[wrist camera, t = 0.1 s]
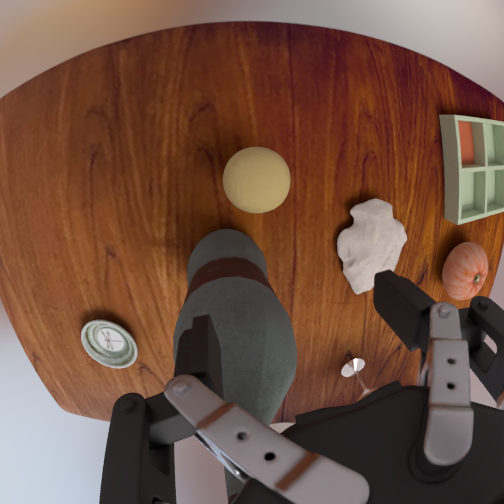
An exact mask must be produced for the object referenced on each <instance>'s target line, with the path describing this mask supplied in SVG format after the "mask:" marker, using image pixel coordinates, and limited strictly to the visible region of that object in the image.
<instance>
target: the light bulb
mask: <svg viewBox="0 0 504 504" xmlns="http://www.w3.org/2000/svg"><path fill="white" fill-rule="evenodd" d="M223 186H224V190H225V193H226V195H227V197H228V199H229V200H230V201H231V202H232V203H233V204H234V205H235V206H236V207H237V208H239V209H241V210H243V211H246V212H250V213H263V212H267V211H270V210H273V209H275V208H276V207H278V206H279V205H280V204H281V203H282V202H283V201H284V199H285V198H286V196H287V194H288V191H289V188H290V172H289V169H288V166H287V164H286V162H285V161H284V159H283V158H282V157H281V156H280V155H279V154H277V153H276V152H274V151H272V150H270V149H268V148H264V147H249V148H246V149H243V150H241V151H239V152H237V153H236V154H235V155H233V156H232V157H231V159H230V160H229V161H228V163H227V165H226V167H225V169H224V174H223Z"/></svg>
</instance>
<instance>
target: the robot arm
mask: <svg viewBox="0 0 504 504" xmlns="http://www.w3.org/2000/svg"><path fill="white" fill-rule="evenodd" d="M373 301H374V306H375V309H376V311H377V312H378V313H379V315H380V316H381V317H382V318H383V319H384V320H385V322H386V323H387V324H388V325H389V326H390V327H391V329H392V330H393V331H394V332H395V333H396V335H397V336H398V337H399V338H400V339H401V341H402V342H403V343H404V344H405V346H406V347H407V348H408V349H409V350H410V352H411V351H414V350H416V349H418V348H420V349H421V352H420V357H419V367H418V376H417V383H416V385H409V386H402V385H401V384H400V382H399V381H398V380H397V381H395V382H392V383H390V384H388V385H385V386H383V387H380V388H378V389H376V390H374V391H373V392H371V393H370V394H368V395H367V396H365V397H364V398H362V399H361V400H359V401H358V402H356V403H354V404H352V405H347V406H338V407H329V408H321V409H318V410H315V411H311V412H308V413H304V414H300V415H296V416H295V418H296V424H294V425H292V426H290V427H289V428H287V429H285V430H284V431H283V432H282V433H278V432H276V431H275V430H273V429H272V428H270V427H269V426H267V425H266V424H264V423H263V422H261V421H260V420H259V419H257V418H256V417H254V416H253V415H251V414H250V413H249V412H247V411H246V410H244V409H243V408H242V407H240V406H239V405H238V404H236V403H234V402H230V403H229V404H228V403H226V402H225V401H224V395H223V379H222V361H221V348H220V343H219V340H218V337H217V334H216V331H215V328H214V325H213V322H212V319H211V317H210V315H209V314H207V315H202V316H197V317H193V323H192V329H187V330H184V331H183V333H182V334H181V336H180V337H179V342H178V349H177V356H176V364H175V371H174V378H172V379H171V380H169V381H168V383H167V384H166V386H165V388H164V391H163V392H162V393H160V394H157V395H154V396H152V397H149V398H146V399H144V397H143V396H142V395H140V394H138V393H127V394H125V395H123V396H121V397H120V398H119V399H118V400H117V401H116V402H115V404H114V407H113V412H112V417H111V422H110V427H109V433H108V439H107V445H106V451H105V458H104V466H103V473H102V481H101V491H100V502H99V503H100V504H176V489H175V467H174V466H175V465H174V442H177V441H179V440H182V439H185V438H187V437H190V436H194V437H195V438H196V439H197V440H198V441H199V442H200V443H201V444H202V445H203V446H204V447H205V448H206V449H207V450H208V451H210V452H211V453H212V454H213V455H214V456H215V457H216V458H217V459H218V460H219V461H220V462H221V463H222V464H223V465H224V466H225V467H226V468H227V469H228V470H229V471H230V472H231V473H233V474H234V475H235V476H236V477H237V478H238V479H240V480H241V481H242V482H243V483H245V484H244V486H243V487H242V489H241V490H240V492H239V493H238V494H237V496H236V497H235V499H234V500H233V501H232V503H231V504H504V310H503V309H502V308H500V307H499V306H498V305H497V304H496V303H495V302H493V301H492V300H491V299H489V298H487V297H484V296H476V297H474V298H472V300H471V302H470V306H469V307H468V308H463V309H457V308H456V307H455V306H454V305H452V304H450V303H447V302H438V303H436V302H435V301H434V300H433V299H432V298H431V297H429V296H428V295H427V294H426V293H425V292H424V291H422V290H420V288H419V287H418V286H416V285H415V284H414V283H413V282H412V281H410V280H409V279H407V278H404V277H402V276H398V275H396V274H395V273H394V272H393V271H392V270H390V269H388V270H385V271H382V272H378V273H376V274H375V276H374V299H373ZM486 335H488V336H489V337H490V338H491V339H492V340H493V341H494V342H495V343H496V346H497V353H496V354H495V353H494V352H493V351H492V350H491V349H490V347H489V346H488V345H487V344H486V343H485V342H484V340H485V337H486ZM470 368H471V369H472V371H473V372H474V373H475V375H476V376H477V377H478V378H479V380H480V381H481V382H482V384H483V385H484V386H485V388H486V389H487V390H488V392H489V393H490V394H491V396H492V397H493V398H494V400H495V401H496V403H497V408H493V407H489V406H486V405H482V404H479V403H475V402H471V401H470Z"/></svg>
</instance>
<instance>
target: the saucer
mask: <svg viewBox="0 0 504 504" xmlns="http://www.w3.org/2000/svg"><path fill="white" fill-rule="evenodd" d="M81 340H82V344H83V346H84V348H85V350H86V351H87V353H88V354H89V355H90V356H91V357H92V358H93V359H95V360H96V361H97V362H99V363H101V364H103V365H105V366H108V367H112V368H125V367H128V366H130V365H132V364H133V363H134V362H135V360H136V358H137V355H138V348H137V345H136V342H135V340H134V339H133V337H132V336H131V335H130V334H129V332H127V331H126V330H125V329H124V328H122V327H121V326H119V325H118V324H116V323H113V322H111V321H107V320H93V321H90V322H88V323H87V324H86V325H85V326H84V327H83V329H82V331H81Z"/></svg>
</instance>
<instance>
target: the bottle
mask: <svg viewBox="0 0 504 504" xmlns="http://www.w3.org/2000/svg"><path fill="white" fill-rule="evenodd" d="M187 278H188V288H189V289H188V292H187V295H186V298H185V301H184V305H183V307H182V310H181V312H180V315H179V317H178V320H177V323H176V327H175V332H174V362H175V364H176V356H177V349H178V342H179V337H180V336H181V334H182V333H183V331H184V330H187V329H192V323H193V317H197V316H202V315H207V314H209V315H210V317H211V319H212V322H213V325H214V328H215V331H216V334H217V337H218V340H219V343H220V348H221V361H222V379H223V395H224V401H225V402H226V403H228V404H229V403H230V402H234V403H236V404H238V405H239V406H240V407H242V408H243V409H244V410H246V411H247V412H249V413H250V414H251V415H253V416H254V417H256V418H257V419H259V420H260V421H261V422H263V423H264V424H266V425H267V426H269V425H270V423H271V422H272V420H273V418H274V416H275V414H276V412H277V411H278V409H279V407H280V405H281V403H282V401H283V399H284V397H285V395H286V393H287V391H288V389H289V387H290V385H291V383H292V381H293V379H294V377H295V372H296V366H297V347H296V342H295V338H294V333H293V328H292V325H291V322H290V318H289V315H288V313H287V312H286V310H285V309H284V307H283V306H282V304H281V303H280V301H279V300H278V298H277V296H276V294H275V292H274V291H273V289H272V287H271V285H270V283H269V282H268V275H267V266H266V261H265V258H264V255H263V252H262V251H261V250H260V249H259V247H258V246H257V245H256V243H255V242H254V241H253V240H252V239H251V238H250V237H249V236H247V235H246V234H244V233H243V232H240V231H236V230H232V229H219V230H217V231H214V232H211V233H209V234H208V235H206V236H205V237H204V238H203V239H201V240H200V241H199V243H198V244H197V246H196V247H195V249H194V250H193V252H192V254H191V256H190V258H189V262H188V266H187ZM224 470H225V479H226V487H227V496H228V504H231V503H232V501H233V500H234V499H235V497H236V496H237V494H238V493H239V492H240V490H241V489H242V487H243V486H244V484H245V483H243V482H242V481H241V480H240V479H238V478H237V477H236V476H235V475H234V474H233V473H231V472H230V471H229V470H228V469H227V468H226V467H225V466H224Z"/></svg>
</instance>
